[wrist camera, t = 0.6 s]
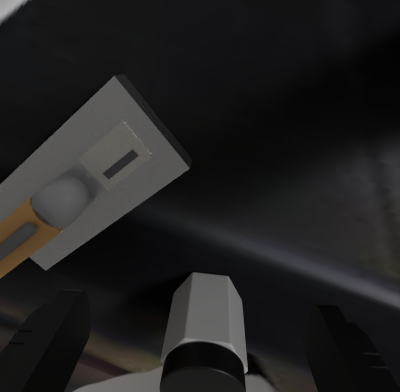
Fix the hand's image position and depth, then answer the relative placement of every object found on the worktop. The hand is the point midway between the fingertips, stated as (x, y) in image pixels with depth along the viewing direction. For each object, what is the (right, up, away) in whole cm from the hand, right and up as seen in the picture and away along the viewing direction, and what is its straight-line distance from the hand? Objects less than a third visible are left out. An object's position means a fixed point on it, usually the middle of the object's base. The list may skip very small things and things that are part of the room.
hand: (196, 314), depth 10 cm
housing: (-12, +6, +20) cm, 24 cm away
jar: (+1, -9, +27) cm, 28 cm away
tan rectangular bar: (-17, +2, +19) cm, 25 cm away
